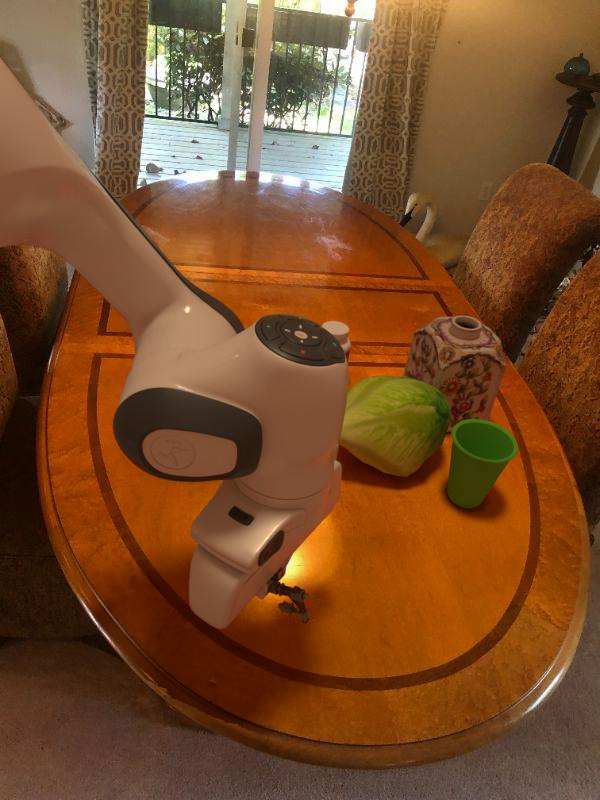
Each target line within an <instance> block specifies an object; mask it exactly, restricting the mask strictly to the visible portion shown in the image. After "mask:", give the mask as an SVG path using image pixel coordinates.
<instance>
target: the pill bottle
mask: <svg viewBox="0 0 600 800" xmlns="http://www.w3.org/2000/svg"><path fill="white" fill-rule="evenodd" d="M321 327H323V328H324V329H326V330H327V331H329V332H330V333H331V334H332V335H333V336H334V337H335V338H336V339H337V340H338V342H339V343H340V345H341V346H342V348H343V350H344V353H345V355H346V358H347V362H348V363H349V359H350V354H351V346H352V343H351V340H350V338H349V333H350V327H349V326H348V324H346V323H344V322H341V321H337V320H328V321H326V322H324V323H322V325H321Z"/></svg>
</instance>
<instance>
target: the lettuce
mask: <svg viewBox="0 0 600 800" xmlns="http://www.w3.org/2000/svg"><path fill="white" fill-rule="evenodd" d="M450 420H451V412H450V406H449V404H448V403H447V401H446V399H445V397H444V396H443V394H442V392H440V391H439V390H438V389H436V388H435V387H434V386H432V385H429V384H427V383H424V382H422V381H419V380H417V379H414V378H412V377H403V376H400V375H371V376H367V377H364V378H362V379H360V380H359V381H357V382H356V383H355V384H353V385H352V386H351V387H350V388H348V394H347V403H346V410H345V417H344V422H343V427H342V433H341V437H340V439H339V441H338V443H337V444H338V445H339V446H341V447H342V448H344V449H346V450H347V451H348V452H349V453H350V454H351V455H353V456H354V458H356V459H357V460H358V461H360V462H362V463H363V464H366V465H369V466H371V467H373V468H375V469H376V470H378V471H380V472H382V473H384V474H387V475H391V476H395V477H402V478H403V477H404V478H408V477H409V476H410V475H412V474H414V473H415V472H417V471H418V470H419V469H420V468H421V466H423V464H424V463H425V462H426V460H428V459H429V458H430V457H432V456H433V455H434V454H435V453H436V452H437V451H438V450H439V449H440V448H441V446H442V445H443V444H444V441H445V438H446V436H447V433H448V432H447V430H448V427H449V424H450Z"/></svg>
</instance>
